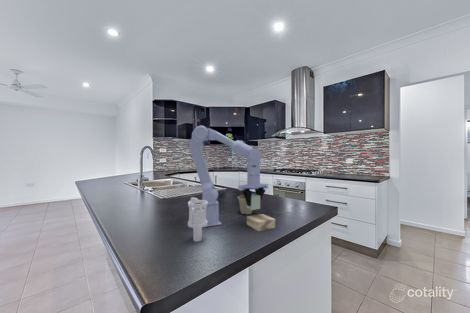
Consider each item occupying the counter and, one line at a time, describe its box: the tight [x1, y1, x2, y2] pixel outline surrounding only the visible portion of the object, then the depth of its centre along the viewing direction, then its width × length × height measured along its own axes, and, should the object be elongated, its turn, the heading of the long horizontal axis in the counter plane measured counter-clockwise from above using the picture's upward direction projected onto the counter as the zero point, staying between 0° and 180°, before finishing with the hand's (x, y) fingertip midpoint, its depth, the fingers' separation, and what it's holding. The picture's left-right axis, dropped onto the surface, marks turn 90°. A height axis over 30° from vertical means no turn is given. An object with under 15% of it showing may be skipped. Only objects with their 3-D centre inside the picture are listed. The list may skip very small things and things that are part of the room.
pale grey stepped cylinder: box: [187, 197, 208, 242], centre depth 73 cm, size 7×7×15 cm
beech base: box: [246, 213, 277, 232], centre depth 88 cm, size 9×9×4 cm
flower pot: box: [237, 194, 253, 215], centre depth 108 cm, size 9×9×9 cm
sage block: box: [247, 193, 261, 211], centre depth 91 cm, size 4×4×6 cm
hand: (253, 205), depth 91 cm, fingers closed on sage block, 4 cm apart
